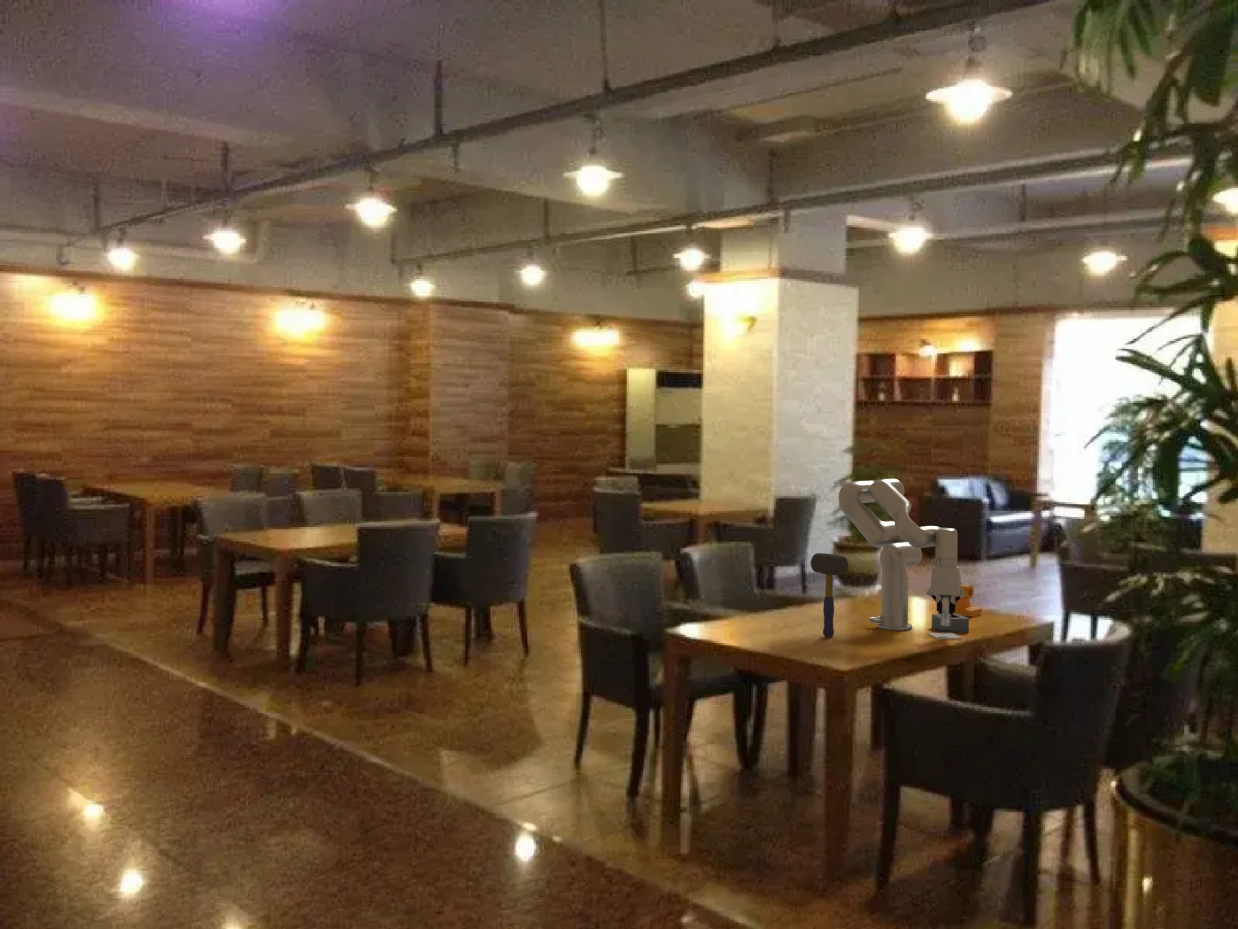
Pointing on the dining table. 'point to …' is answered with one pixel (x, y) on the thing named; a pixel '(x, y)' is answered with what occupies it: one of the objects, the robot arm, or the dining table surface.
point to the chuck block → (957, 623)
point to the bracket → (966, 603)
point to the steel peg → (945, 610)
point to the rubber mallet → (829, 583)
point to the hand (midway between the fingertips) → (945, 613)
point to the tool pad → (944, 635)
